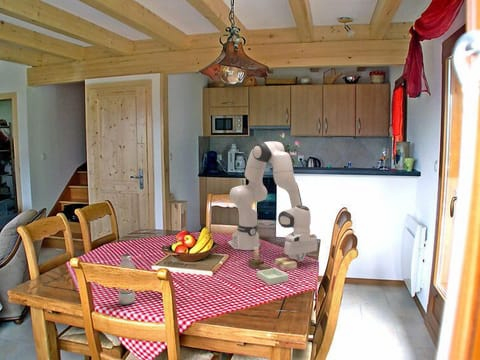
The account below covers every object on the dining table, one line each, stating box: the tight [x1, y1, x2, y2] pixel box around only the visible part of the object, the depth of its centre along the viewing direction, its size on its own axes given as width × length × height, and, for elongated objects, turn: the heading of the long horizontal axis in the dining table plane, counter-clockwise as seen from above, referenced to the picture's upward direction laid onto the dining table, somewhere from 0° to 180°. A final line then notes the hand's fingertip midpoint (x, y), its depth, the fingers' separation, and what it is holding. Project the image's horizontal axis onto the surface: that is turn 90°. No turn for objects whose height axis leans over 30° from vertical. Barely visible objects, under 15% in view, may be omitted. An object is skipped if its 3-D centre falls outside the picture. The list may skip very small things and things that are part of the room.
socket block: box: [247, 257, 265, 270], centre depth 200 cm, size 6×6×4 cm
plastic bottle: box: [117, 253, 136, 306], centre depth 154 cm, size 6×7×20 cm
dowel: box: [253, 247, 260, 261], centre depth 200 cm, size 2×2×10 cm
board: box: [274, 256, 298, 271], centre depth 201 cm, size 10×7×4 cm
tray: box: [256, 267, 290, 286], centre depth 184 cm, size 11×11×3 cm
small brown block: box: [259, 263, 272, 271], centre depth 195 cm, size 4×4×3 cm
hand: (300, 261), depth 206 cm, fingers closed
